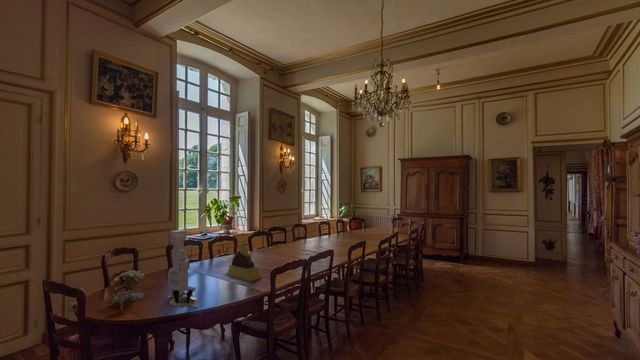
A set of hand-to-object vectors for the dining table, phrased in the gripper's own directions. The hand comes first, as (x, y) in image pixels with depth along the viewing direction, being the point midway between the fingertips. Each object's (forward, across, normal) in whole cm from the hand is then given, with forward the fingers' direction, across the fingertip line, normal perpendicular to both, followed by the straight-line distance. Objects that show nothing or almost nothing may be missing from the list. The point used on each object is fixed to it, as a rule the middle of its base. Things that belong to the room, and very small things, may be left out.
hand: (182, 302), depth 196 cm
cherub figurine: (+3, -41, +16) cm, 45 cm away
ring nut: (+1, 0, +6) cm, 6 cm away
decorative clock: (+3, +23, +66) cm, 69 cm away
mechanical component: (+3, -34, -4) cm, 35 cm away
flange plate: (+2, -3, +9) cm, 10 cm away
